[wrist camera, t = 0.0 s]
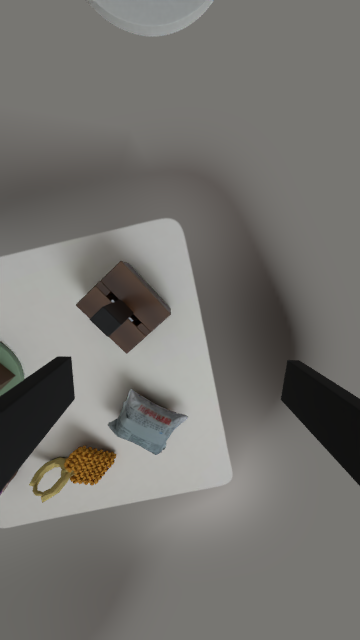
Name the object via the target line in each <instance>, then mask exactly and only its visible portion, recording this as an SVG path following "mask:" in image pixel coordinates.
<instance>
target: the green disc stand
mask: <svg viewBox="0 0 360 640" xmlns="http://www.w3.org/2000/svg"><path fill="white" fill-rule="evenodd" d="M23 380H24V374H23V370H22V367H21V364H20V362H19V360H18V359H17V357H16V356H15V355H14V354H13V352H12V351H11V350H10V349H9V348H8V347H6V346H5V345H4V344H2V343H1V342H0V396H1V395H3V394H4V393H6V392H7V391H8V390H10V389H11V388H13V387H14V386H16V385H17V384H19V383H20V382H21V381H23Z"/></svg>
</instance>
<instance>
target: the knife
mask: <svg viewBox="0 0 360 640" xmlns="http://www.w3.org/2000/svg"><path fill="white" fill-rule="evenodd" d="M111 301H112V302H113V303H110V304H108V305H105V306H103V307H102V308H101V309H100V310H99V311H97V312H96V313H95V314H94V315H93V316H92V317H91V318H90V320H91V321H92V322H93V323H94V324H95V325H96V326H97V327H98V328H99V329H100V330H101V331H102V332H103V333H104V334H105V335H106V336H107V337H109V336H110V335H111V334H112V333H113V332H115V331H116V330H117V329H118V328H119V327H120V326H121V325H122V324H123V323H124V322H125V321H126V320H127V319H128V318H129V319H130V320H131V321H134V319H135V318H136V316H135V315H134V312H133V311H132V310H131V309H130V308H129V307H128V306H127V305H126V304H125V303H124V302H123V301H122V300H121V299H120V300H119V299H118V298H115V299H112V300H111Z"/></svg>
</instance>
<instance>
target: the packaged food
mask: <svg viewBox="0 0 360 640" xmlns="http://www.w3.org/2000/svg"><path fill="white" fill-rule="evenodd" d="M187 418H188V416H187V415H183V414H177V413H176V412H173V411H170V410H168V409H165V408H162V407H160V406H158V405H157V404H154V403H152V402H151V401H149V400H148V399H146V398H144V397H143V396H141V395H139V394H138V393H136V392H135V391H133V390H132V389H130V391H129V394H128V397H127V400H126V402H123V408H122V411H121V413H120V416H119V417H118V419H115V420H114V421H113V422H109V424H108V426H109V427H110V429H111V430H112V431H113V432H114V433H115V434H116V435H117V436H118V437H120V438H123V439H126V440H128V441H131V442H133V443H135V444H137V445H139V446H141V447H143V448H144V449H146V450H148V451H150V452H152V453H153V454H155V455H157V454H159V453H160V452H161V451H162V450H164V449H165V448H166V440H167V439H168V438H169V436H170V435H171V433H172V432H173V431H174V429H175V428H176V427H178V426H179V425H180V424H181V423H183V422H184V421H185V420H186V419H187Z"/></svg>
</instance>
